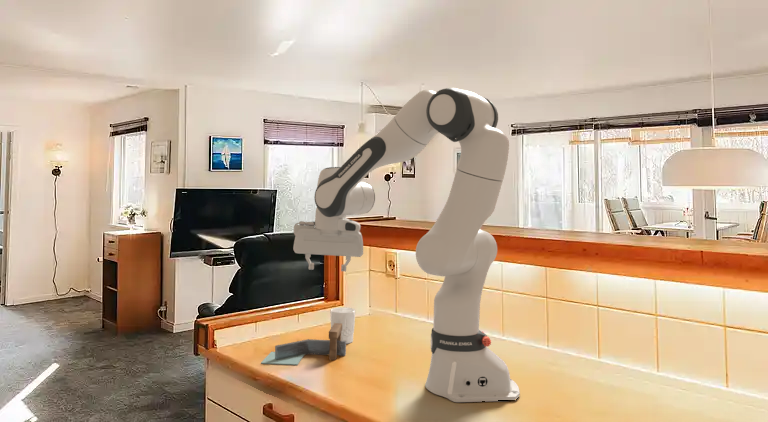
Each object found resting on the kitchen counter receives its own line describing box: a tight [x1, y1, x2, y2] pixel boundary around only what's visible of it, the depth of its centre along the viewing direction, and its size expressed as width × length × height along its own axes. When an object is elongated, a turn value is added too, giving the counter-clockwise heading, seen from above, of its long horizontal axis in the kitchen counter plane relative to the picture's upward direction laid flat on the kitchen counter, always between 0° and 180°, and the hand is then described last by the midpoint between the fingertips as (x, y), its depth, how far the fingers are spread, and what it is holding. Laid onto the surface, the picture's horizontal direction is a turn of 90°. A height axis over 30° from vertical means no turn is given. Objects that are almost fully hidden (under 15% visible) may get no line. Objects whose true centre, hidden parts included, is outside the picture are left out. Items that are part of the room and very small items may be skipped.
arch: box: [328, 323, 342, 361], centre depth 153 cm, size 2×10×8 cm, turn 176°
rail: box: [274, 338, 347, 360], centre depth 150 cm, size 19×9×4 cm, turn 86°
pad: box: [260, 351, 306, 366], centre depth 148 cm, size 10×10×1 cm
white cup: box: [330, 306, 356, 345], centre depth 166 cm, size 8×8×10 cm
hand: (327, 270), depth 153 cm, fingers open, 8 cm apart
